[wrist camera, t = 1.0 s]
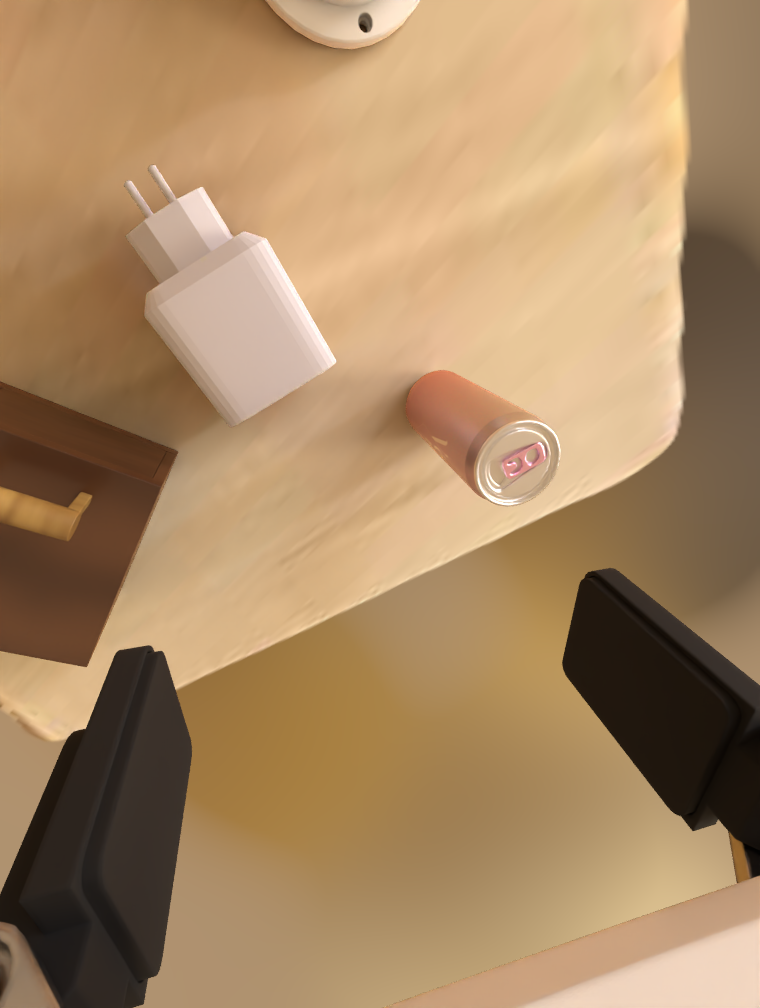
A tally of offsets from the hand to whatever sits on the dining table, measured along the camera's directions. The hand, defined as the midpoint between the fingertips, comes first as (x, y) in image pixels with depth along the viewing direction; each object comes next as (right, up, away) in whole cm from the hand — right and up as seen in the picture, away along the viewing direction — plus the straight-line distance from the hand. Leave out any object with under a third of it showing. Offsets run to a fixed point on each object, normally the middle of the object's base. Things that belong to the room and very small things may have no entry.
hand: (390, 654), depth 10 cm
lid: (-24, 0, +20) cm, 31 cm away
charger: (-12, +19, +23) cm, 32 cm away
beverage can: (+5, +12, +30) cm, 33 cm away
